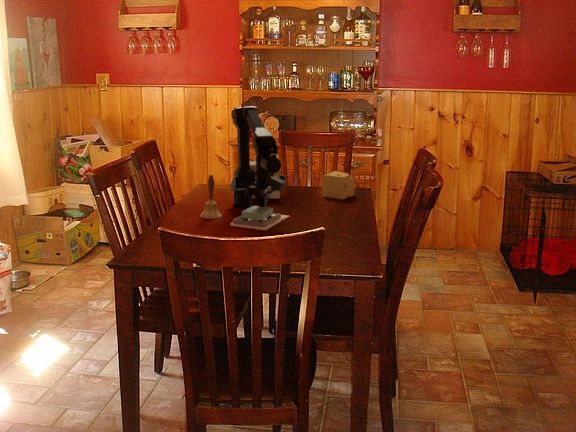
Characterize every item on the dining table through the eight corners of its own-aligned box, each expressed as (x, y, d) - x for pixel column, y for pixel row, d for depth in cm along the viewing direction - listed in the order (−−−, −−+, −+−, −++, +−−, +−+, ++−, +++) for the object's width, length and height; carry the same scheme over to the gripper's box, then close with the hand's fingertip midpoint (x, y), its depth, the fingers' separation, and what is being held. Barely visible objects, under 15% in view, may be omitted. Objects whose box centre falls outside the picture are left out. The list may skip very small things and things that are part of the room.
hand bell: (225, 214, 268) (225, 174, 264) (216, 219, 260) (215, 177, 256) (205, 212, 270) (205, 172, 266) (196, 217, 262) (195, 176, 259)
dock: (230, 225, 252) (230, 219, 252) (256, 212, 272) (256, 206, 271) (265, 230, 247) (265, 223, 246) (289, 216, 267) (289, 210, 266)
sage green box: (241, 223, 252) (241, 211, 251) (253, 217, 261) (253, 205, 260) (261, 225, 249) (261, 213, 248) (272, 219, 258) (273, 207, 257)
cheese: (354, 195, 305) (355, 173, 303) (342, 200, 296) (343, 177, 294) (333, 192, 310) (334, 170, 308) (321, 197, 302) (322, 174, 299)
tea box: (279, 194, 305) (279, 161, 301) (279, 199, 295) (280, 165, 292) (244, 194, 304) (245, 160, 301) (244, 199, 295) (244, 164, 291)
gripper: (273, 174, 245) (272, 217, 249) (293, 166, 262) (292, 206, 266) (244, 172, 249) (244, 214, 253) (266, 164, 266) (266, 203, 270)
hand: (263, 209), depth 260 cm, fingers closed
